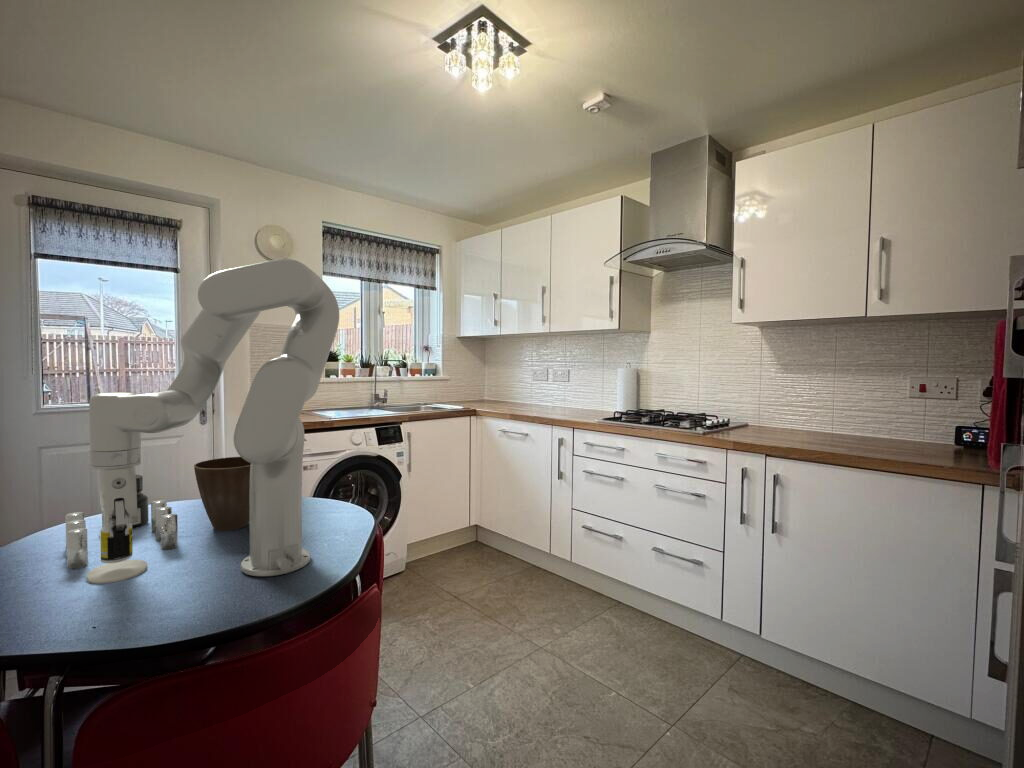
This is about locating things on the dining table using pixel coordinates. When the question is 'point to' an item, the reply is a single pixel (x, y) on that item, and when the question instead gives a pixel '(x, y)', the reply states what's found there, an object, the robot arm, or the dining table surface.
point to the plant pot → (225, 491)
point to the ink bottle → (139, 506)
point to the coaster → (116, 571)
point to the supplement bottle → (105, 544)
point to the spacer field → (160, 524)
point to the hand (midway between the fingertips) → (117, 551)
